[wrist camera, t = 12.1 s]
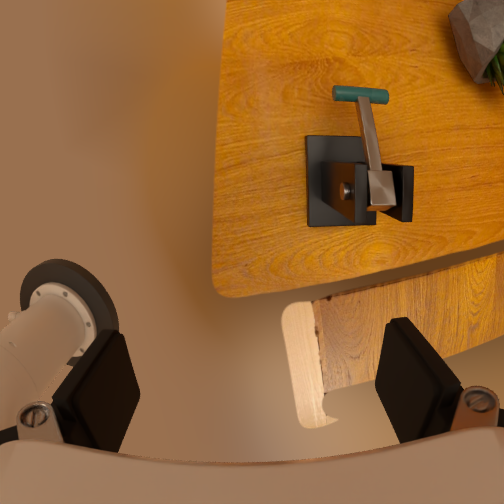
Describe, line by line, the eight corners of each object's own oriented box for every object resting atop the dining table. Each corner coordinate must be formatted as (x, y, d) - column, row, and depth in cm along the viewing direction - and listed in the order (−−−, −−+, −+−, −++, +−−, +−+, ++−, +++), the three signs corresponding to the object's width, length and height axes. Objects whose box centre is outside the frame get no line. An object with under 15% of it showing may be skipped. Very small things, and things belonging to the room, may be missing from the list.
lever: (330, 93, 26) (335, 79, 23) (380, 96, 26) (388, 84, 23) (345, 211, 25) (353, 205, 23) (399, 210, 25) (412, 205, 22)
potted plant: (498, 2, 22) (557, 89, 22) (440, 37, 32) (496, 122, 32) (494, -32, 14) (575, 77, 14) (422, 11, 24) (497, 118, 24)
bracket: (304, 136, 33) (333, 124, 21) (372, 137, 33) (429, 132, 21) (307, 224, 36) (334, 260, 24) (372, 222, 36) (424, 255, 23)
